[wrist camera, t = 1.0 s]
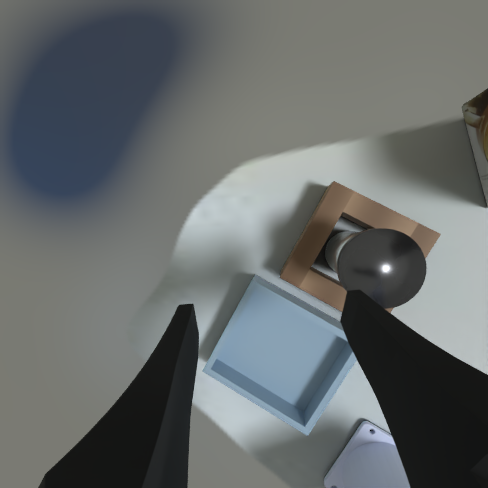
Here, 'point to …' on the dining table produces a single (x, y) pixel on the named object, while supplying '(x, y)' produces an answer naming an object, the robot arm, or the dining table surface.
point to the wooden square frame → (320, 226)
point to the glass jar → (378, 264)
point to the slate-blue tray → (282, 355)
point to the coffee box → (479, 134)
